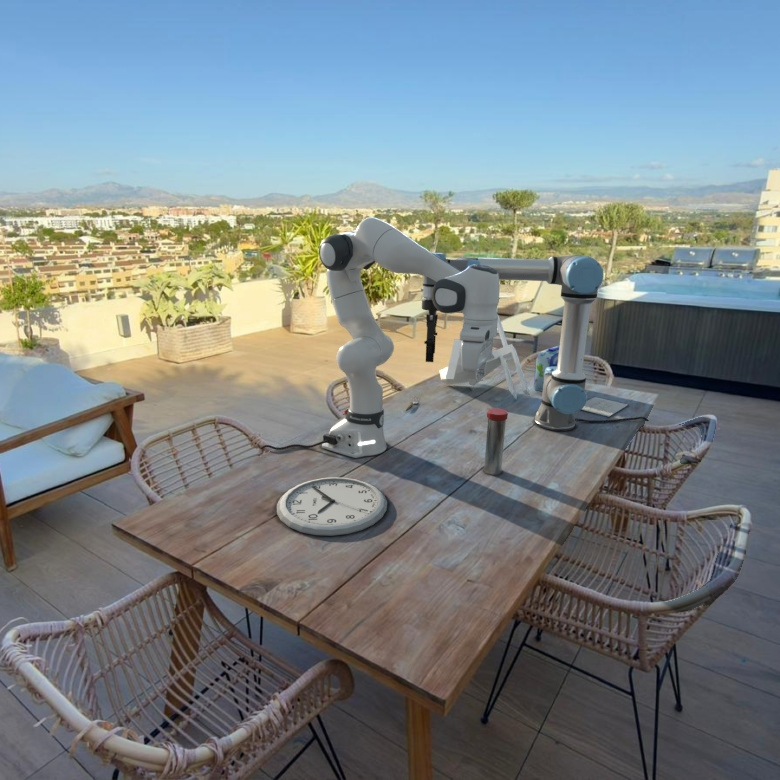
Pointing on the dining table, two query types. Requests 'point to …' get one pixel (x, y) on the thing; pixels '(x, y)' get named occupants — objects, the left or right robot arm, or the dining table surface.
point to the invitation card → (603, 406)
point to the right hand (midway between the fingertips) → (430, 357)
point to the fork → (413, 403)
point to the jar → (494, 447)
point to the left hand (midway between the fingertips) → (476, 379)
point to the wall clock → (331, 506)
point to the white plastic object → (502, 355)
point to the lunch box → (544, 365)
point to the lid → (497, 414)
